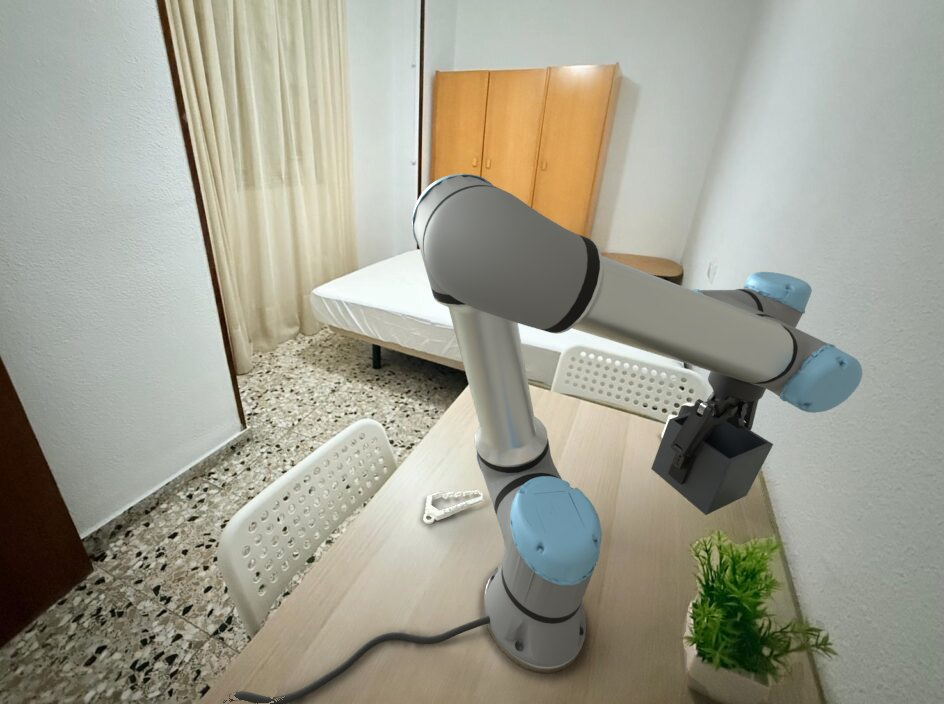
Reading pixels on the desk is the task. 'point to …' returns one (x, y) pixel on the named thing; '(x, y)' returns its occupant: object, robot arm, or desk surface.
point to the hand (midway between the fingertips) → (697, 469)
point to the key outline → (449, 511)
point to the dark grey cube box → (715, 464)
